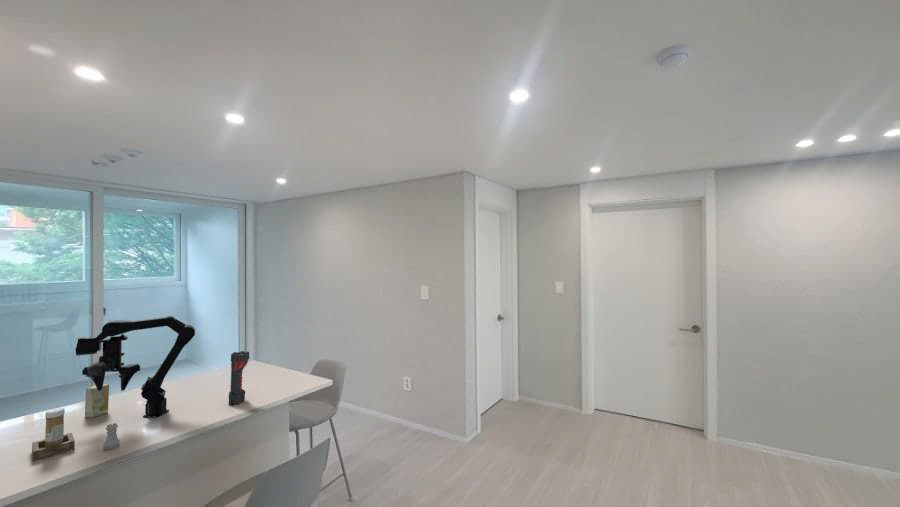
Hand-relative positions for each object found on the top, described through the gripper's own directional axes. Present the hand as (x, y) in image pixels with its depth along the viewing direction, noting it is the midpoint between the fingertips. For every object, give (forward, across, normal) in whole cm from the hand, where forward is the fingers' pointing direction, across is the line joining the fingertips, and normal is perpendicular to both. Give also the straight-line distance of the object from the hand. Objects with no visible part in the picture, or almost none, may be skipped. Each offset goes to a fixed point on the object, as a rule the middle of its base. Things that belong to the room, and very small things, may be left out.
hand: (111, 390), depth 149 cm
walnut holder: (+13, 0, -22) cm, 26 cm away
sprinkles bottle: (+13, 0, -22) cm, 25 cm away
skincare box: (+13, -13, +8) cm, 20 cm away
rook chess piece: (+13, +18, -20) cm, 30 cm away
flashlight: (+13, +40, +21) cm, 47 cm away
